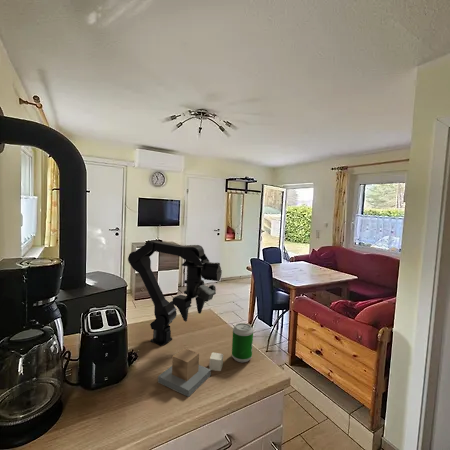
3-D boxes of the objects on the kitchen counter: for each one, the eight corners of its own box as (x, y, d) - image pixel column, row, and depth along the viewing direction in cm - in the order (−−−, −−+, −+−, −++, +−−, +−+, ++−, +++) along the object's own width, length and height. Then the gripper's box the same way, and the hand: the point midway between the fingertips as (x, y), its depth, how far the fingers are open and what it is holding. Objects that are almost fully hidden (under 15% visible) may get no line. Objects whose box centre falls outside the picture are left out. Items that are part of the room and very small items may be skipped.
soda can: (250, 365, 95) (252, 332, 95) (229, 362, 97) (231, 329, 96) (252, 354, 103) (254, 323, 102) (233, 351, 104) (234, 321, 103)
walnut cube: (171, 374, 85) (172, 356, 85) (183, 365, 90) (184, 347, 90) (187, 381, 82) (187, 362, 82) (198, 371, 88) (199, 353, 87)
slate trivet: (157, 382, 84) (157, 376, 84) (182, 363, 95) (182, 358, 94) (188, 397, 78) (188, 390, 78) (210, 375, 89) (211, 369, 89)
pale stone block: (209, 369, 92) (209, 358, 92) (211, 363, 96) (212, 352, 96) (220, 371, 91) (221, 360, 91) (222, 364, 95) (223, 353, 95)
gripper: (197, 287, 92) (195, 331, 93) (224, 276, 108) (222, 314, 109) (171, 282, 98) (170, 323, 99) (201, 272, 114) (199, 308, 115)
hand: (192, 317), depth 105 cm, fingers open, 9 cm apart
